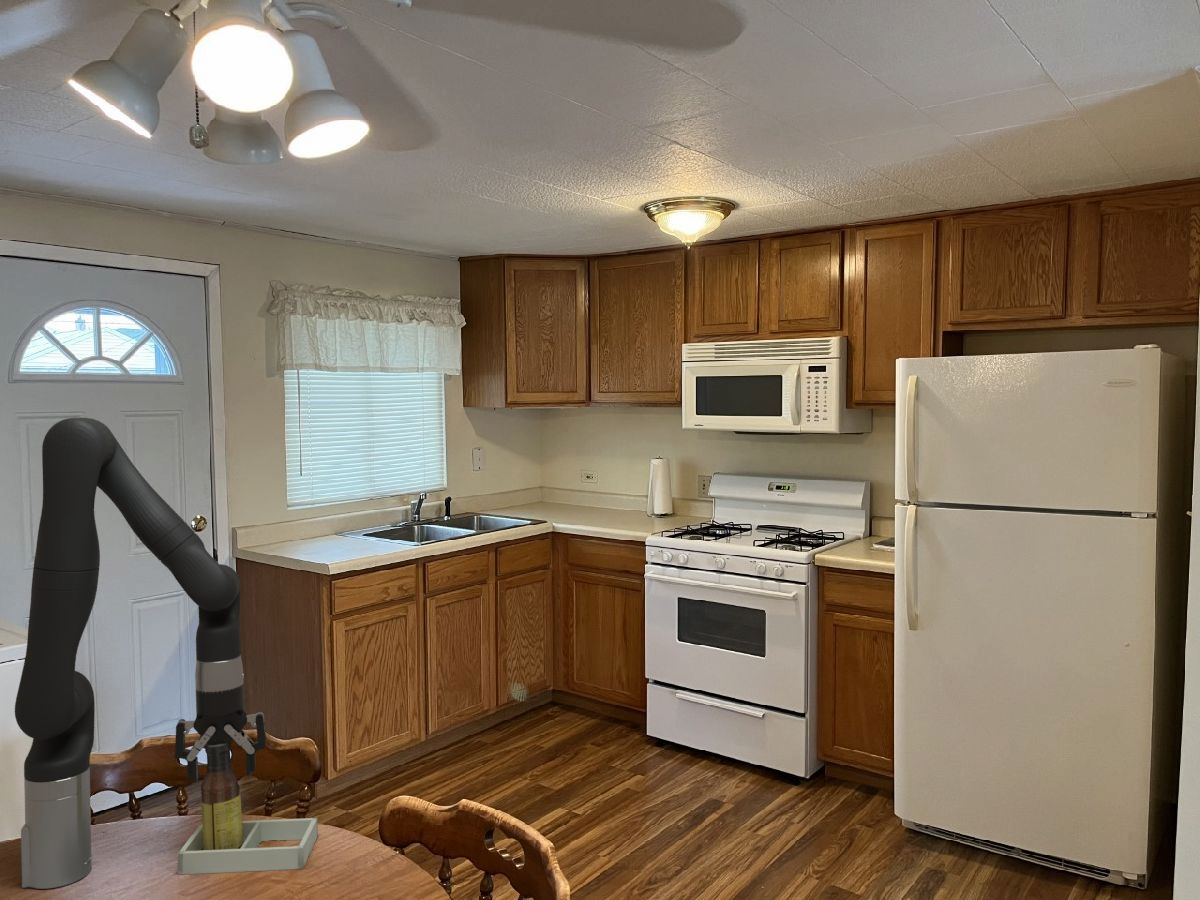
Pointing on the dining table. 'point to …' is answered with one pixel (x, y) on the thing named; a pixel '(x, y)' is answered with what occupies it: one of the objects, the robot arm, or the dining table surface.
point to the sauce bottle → (220, 801)
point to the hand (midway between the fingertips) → (222, 777)
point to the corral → (252, 848)
